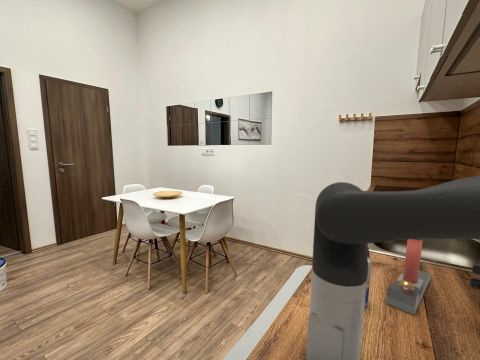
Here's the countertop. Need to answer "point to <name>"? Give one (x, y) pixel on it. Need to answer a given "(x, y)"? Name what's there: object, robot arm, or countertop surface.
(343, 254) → the robot arm
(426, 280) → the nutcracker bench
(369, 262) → the energy drink
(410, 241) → the handle
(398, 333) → the countertop surface
